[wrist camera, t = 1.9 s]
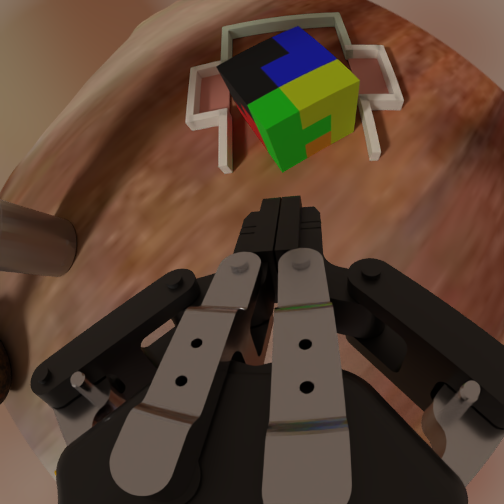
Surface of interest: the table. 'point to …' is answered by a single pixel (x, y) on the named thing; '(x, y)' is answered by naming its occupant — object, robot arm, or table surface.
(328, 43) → the table surface
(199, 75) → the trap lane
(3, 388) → the glass bottle
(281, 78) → the puzzle toy
